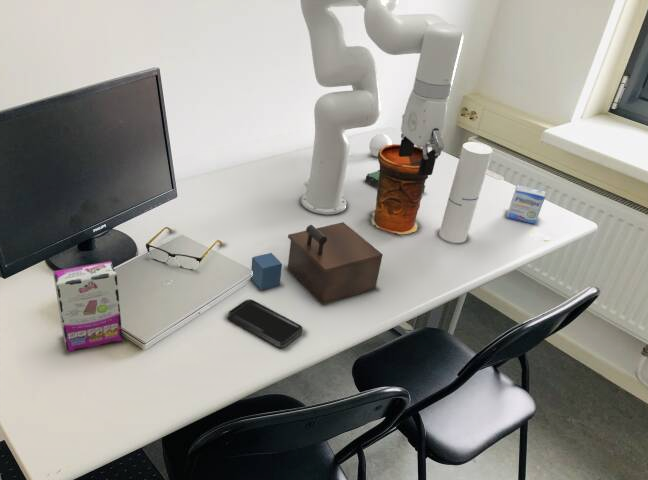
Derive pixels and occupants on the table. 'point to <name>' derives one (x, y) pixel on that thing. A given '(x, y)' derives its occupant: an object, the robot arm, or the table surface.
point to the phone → (265, 323)
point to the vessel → (398, 190)
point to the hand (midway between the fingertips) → (414, 165)
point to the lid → (334, 246)
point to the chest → (333, 277)
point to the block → (266, 271)
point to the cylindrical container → (465, 191)
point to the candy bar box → (88, 305)
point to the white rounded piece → (379, 143)
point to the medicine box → (526, 204)
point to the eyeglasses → (177, 254)
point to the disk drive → (376, 179)
